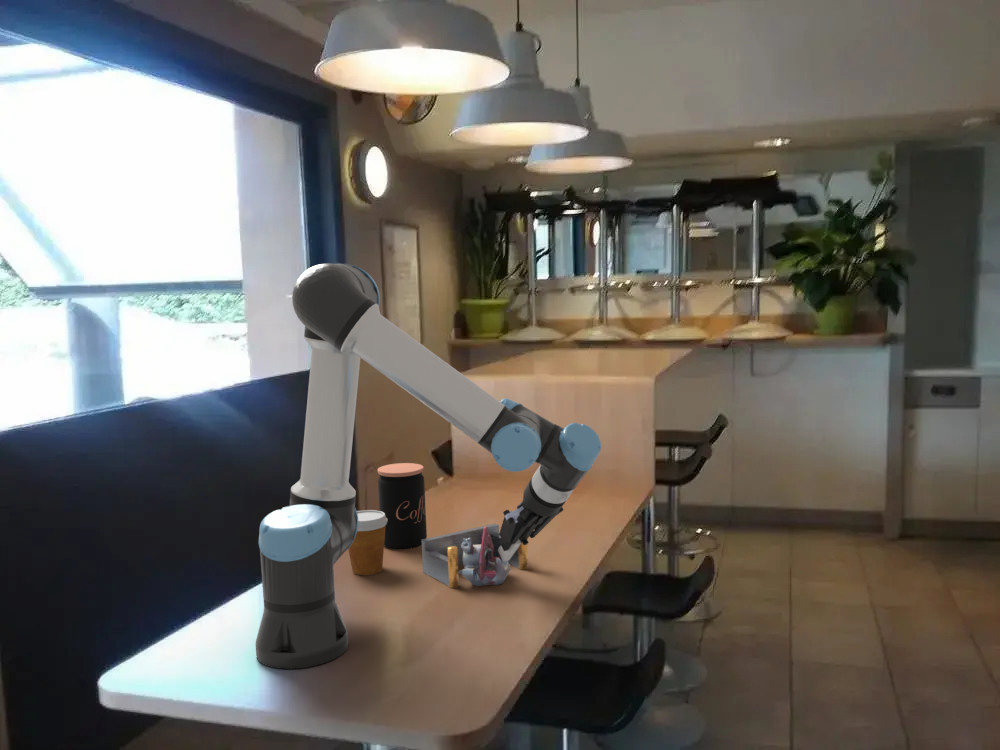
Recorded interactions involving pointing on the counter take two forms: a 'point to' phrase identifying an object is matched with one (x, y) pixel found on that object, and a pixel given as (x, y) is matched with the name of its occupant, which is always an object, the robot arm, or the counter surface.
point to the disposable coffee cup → (368, 543)
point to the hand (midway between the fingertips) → (503, 555)
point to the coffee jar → (403, 504)
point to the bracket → (448, 554)
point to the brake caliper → (483, 562)
